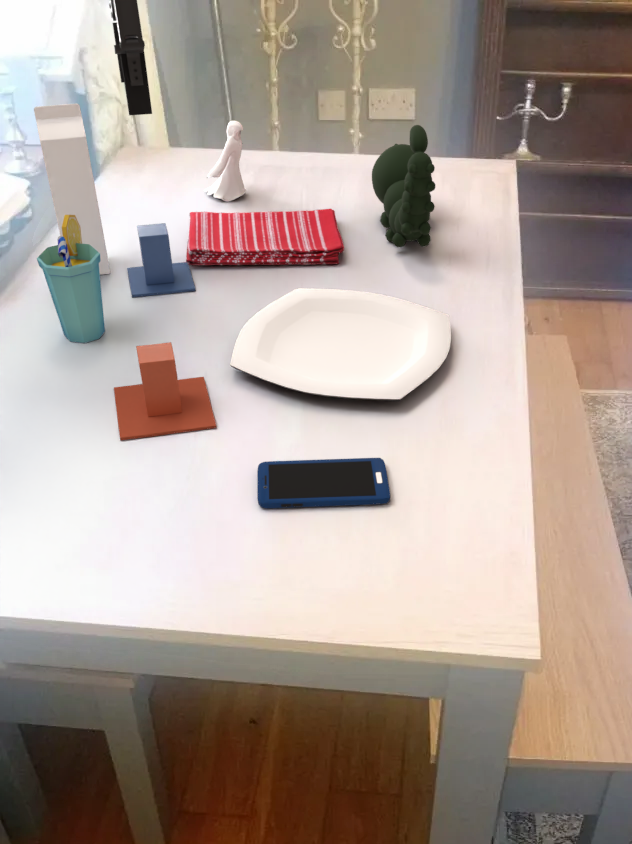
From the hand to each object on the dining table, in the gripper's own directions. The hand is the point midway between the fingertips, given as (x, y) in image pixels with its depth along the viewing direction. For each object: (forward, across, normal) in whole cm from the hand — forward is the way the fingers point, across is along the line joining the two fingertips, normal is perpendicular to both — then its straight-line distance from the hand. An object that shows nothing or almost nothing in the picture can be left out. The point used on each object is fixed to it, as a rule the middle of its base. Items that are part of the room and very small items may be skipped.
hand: (136, 97), depth 112 cm
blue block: (+24, +2, 0) cm, 24 cm away
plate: (+25, -24, -21) cm, 40 cm away
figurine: (+25, +32, -14) cm, 43 cm away
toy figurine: (+25, +11, -40) cm, 48 cm away
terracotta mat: (+25, -32, +3) cm, 41 cm away
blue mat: (+25, +2, 0) cm, 25 cm away
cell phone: (+25, -51, -12) cm, 58 cm away
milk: (+25, +9, +10) cm, 28 cm away
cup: (+25, -12, +11) cm, 30 cm away
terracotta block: (+24, -32, +3) cm, 40 cm away
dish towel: (+25, +11, -17) cm, 32 cm away
